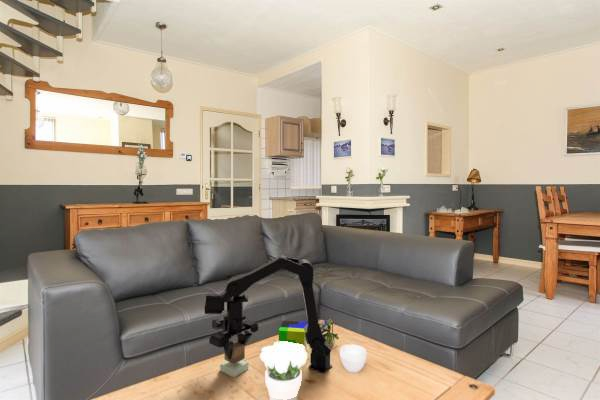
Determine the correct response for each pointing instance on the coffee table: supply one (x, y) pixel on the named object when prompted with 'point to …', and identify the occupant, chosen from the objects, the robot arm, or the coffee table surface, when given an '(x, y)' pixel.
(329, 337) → the passion flower
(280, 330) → the puzzle toy
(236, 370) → the pale green block
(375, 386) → the coffee table surface
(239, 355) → the walnut cube
